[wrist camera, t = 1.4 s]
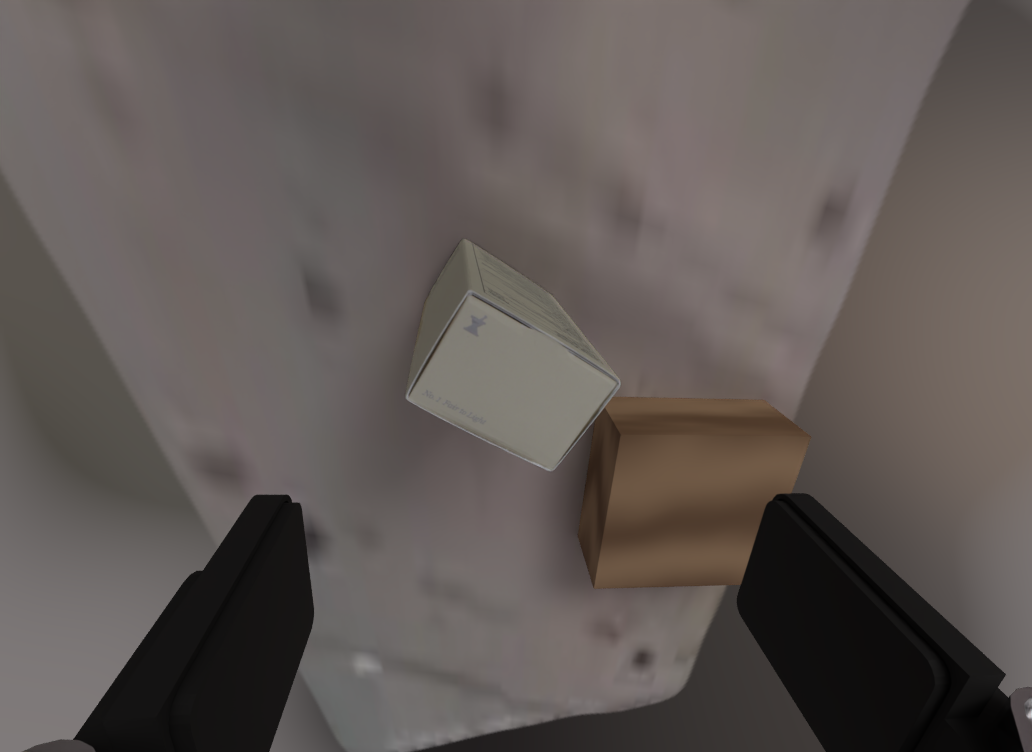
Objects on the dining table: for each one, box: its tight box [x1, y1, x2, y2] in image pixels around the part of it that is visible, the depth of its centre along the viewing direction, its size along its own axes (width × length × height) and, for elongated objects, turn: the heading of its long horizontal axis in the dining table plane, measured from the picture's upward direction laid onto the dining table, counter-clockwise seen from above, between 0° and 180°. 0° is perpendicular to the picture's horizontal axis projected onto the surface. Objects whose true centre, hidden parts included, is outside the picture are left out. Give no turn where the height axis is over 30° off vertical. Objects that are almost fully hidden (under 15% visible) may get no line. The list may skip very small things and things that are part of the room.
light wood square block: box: [578, 397, 811, 589], centre depth 31 cm, size 11×11×5 cm
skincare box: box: [405, 239, 621, 471], centre depth 21 cm, size 6×4×12 cm
